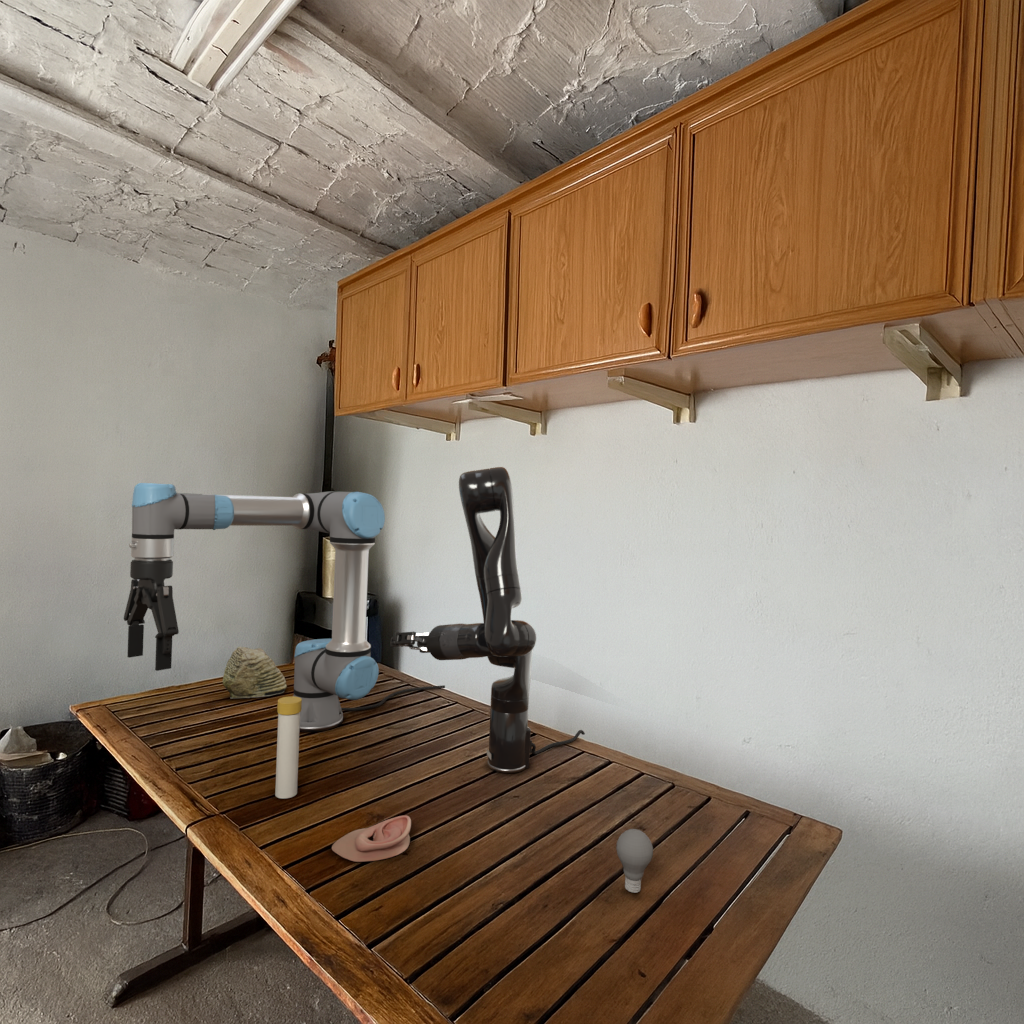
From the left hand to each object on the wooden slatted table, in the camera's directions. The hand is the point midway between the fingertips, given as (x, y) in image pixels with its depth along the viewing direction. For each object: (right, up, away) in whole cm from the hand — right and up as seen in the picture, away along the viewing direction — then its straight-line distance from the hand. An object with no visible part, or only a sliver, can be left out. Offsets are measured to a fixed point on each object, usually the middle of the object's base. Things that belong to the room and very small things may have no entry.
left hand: (148, 662), depth 129 cm
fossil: (-6, -27, +69) cm, 74 cm away
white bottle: (+26, -29, +5) cm, 40 cm away
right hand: (+50, 0, +17) cm, 53 cm away
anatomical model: (+49, -30, -13) cm, 59 cm away
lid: (+27, -9, +5) cm, 29 cm away
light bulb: (+94, -33, -24) cm, 103 cm away
